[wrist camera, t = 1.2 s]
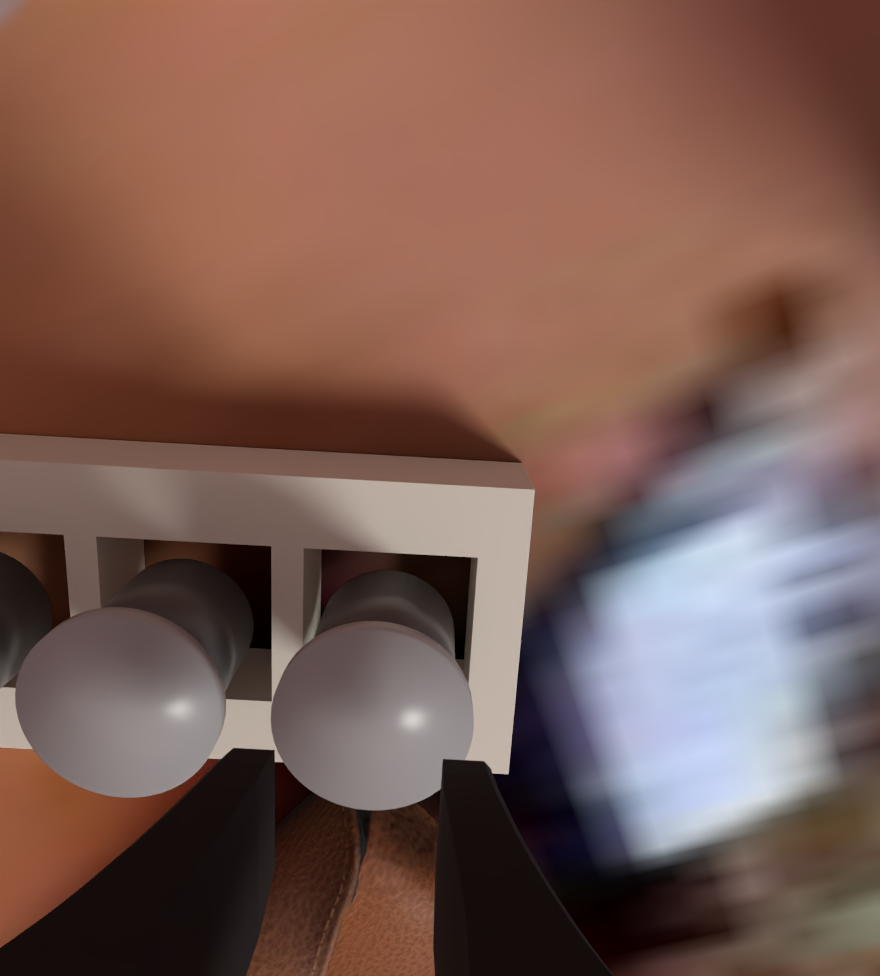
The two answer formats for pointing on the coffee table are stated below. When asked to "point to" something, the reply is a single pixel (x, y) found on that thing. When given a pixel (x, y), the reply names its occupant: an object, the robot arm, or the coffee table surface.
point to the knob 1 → (20, 615)
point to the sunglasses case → (350, 893)
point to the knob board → (282, 546)
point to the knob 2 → (375, 696)
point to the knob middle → (137, 681)
